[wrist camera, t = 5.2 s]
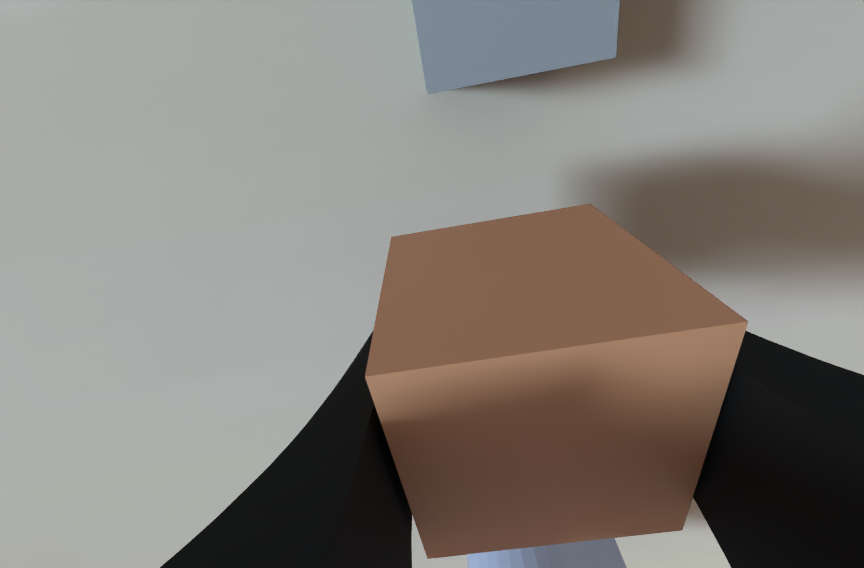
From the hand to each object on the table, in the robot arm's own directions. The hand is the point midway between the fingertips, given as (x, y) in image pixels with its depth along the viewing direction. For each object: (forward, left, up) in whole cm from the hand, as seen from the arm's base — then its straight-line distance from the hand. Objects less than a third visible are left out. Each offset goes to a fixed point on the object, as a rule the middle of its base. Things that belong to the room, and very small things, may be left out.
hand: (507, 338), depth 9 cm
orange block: (0, 0, -2) cm, 2 cm away
